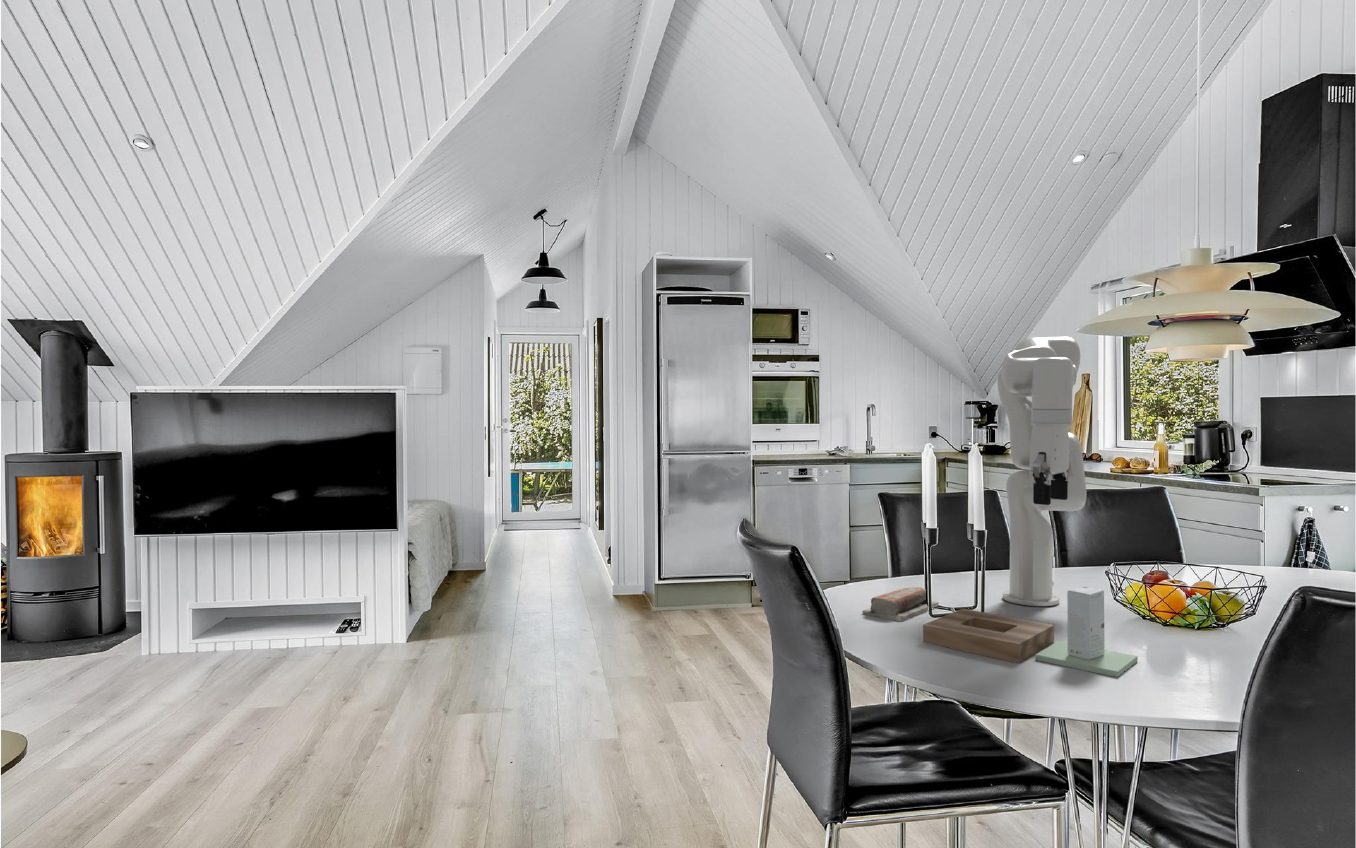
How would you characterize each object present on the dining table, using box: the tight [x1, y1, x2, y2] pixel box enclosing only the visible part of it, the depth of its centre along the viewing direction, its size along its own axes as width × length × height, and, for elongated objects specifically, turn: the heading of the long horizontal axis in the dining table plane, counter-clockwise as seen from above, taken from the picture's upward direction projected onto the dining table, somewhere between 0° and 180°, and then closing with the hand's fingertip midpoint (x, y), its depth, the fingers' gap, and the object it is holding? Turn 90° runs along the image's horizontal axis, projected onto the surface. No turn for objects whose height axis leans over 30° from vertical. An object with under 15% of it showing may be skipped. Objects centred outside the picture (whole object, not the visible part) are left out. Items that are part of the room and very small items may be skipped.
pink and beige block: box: [861, 586, 940, 623], centre depth 187 cm, size 18×5×10 cm
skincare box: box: [1066, 586, 1106, 660], centre depth 151 cm, size 6×4×12 cm
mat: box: [1034, 640, 1139, 678], centre depth 150 cm, size 12×14×1 cm
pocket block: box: [922, 608, 1055, 664], centre depth 162 cm, size 18×19×4 cm
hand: (1050, 501), depth 166 cm, fingers open, 9 cm apart
